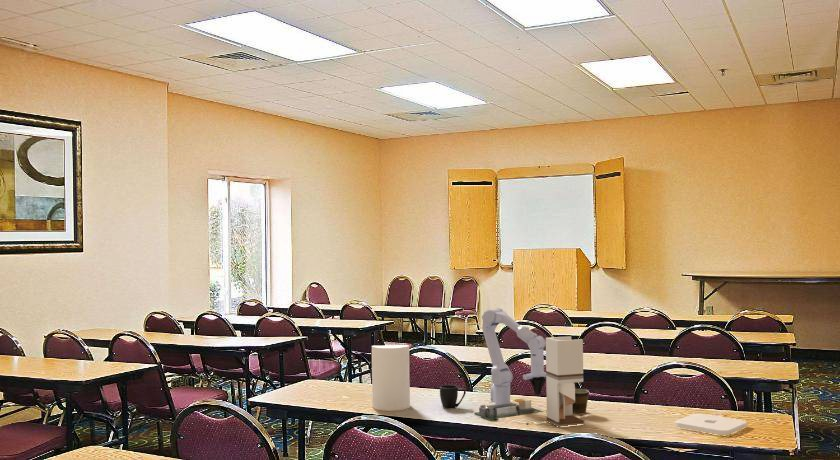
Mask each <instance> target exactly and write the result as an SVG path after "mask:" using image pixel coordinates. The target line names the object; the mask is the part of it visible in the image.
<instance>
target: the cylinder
mask: <svg viewBox="0 0 840 460" xmlns="http://www.w3.org/2000/svg"><path fill="white" fill-rule="evenodd" d="M410 378H411V376H410V345H407V344H405V345H404V344H402V345H401V344H400V345H396V344H395V345H394V344H393V345H371V379H372V380H371V387H372V389H371V393H372V395H371V398H372V399H371V402H372V408H373V409H374V410H378V411H386V412H387V411H388V412H389V411H390V412H393V411H401V410H403V411H404V410H405V409H406V408H407V409H409V408H410V405H411V397H410V396H411V394H410V393H411V391H410V390H411V388H410V387H411V386H410V385H411V381H410ZM408 407H409V408H408Z"/></svg>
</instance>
